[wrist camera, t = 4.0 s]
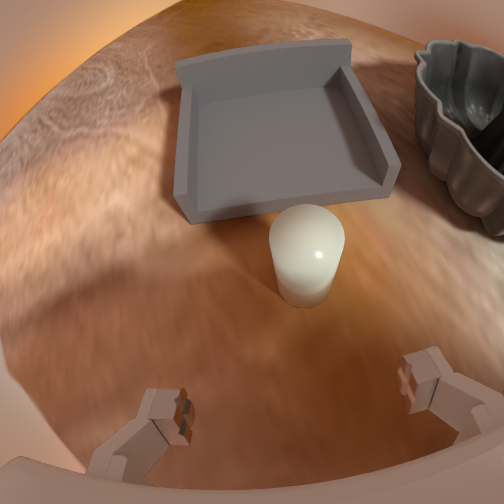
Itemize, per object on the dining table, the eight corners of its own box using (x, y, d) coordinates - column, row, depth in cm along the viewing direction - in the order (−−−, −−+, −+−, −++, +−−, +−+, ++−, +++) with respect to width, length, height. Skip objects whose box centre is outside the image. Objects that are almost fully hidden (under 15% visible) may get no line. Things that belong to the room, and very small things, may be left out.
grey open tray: (388, 197, 28) (410, 140, 21) (191, 224, 29) (159, 174, 22) (343, 91, 35) (347, 38, 27) (193, 111, 36) (175, 61, 29)
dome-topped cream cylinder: (335, 304, 25) (352, 266, 17) (281, 311, 25) (273, 277, 17) (325, 254, 26) (335, 199, 19) (274, 261, 27) (264, 209, 19)
